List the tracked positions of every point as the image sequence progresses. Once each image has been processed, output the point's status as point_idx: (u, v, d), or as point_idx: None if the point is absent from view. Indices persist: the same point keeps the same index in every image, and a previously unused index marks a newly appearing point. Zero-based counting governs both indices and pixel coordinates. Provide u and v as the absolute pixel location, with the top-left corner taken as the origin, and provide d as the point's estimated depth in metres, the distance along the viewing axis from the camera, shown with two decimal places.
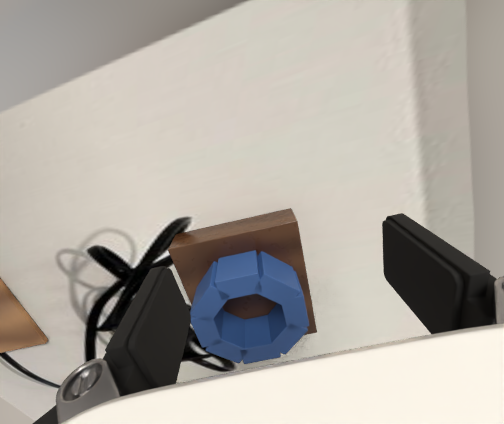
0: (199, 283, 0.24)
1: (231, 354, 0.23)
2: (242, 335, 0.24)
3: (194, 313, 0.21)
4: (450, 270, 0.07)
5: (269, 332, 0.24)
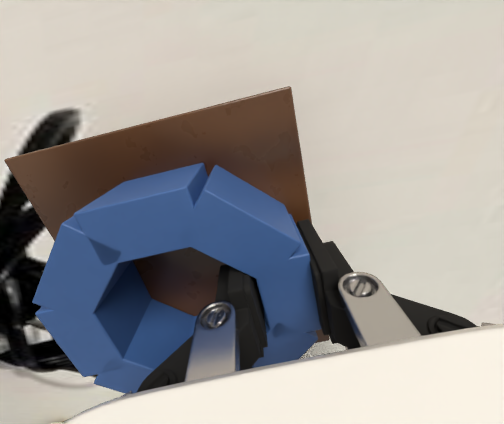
0: None
1: None
2: None
3: (42, 299, 0.09)
4: (313, 268, 0.08)
5: None
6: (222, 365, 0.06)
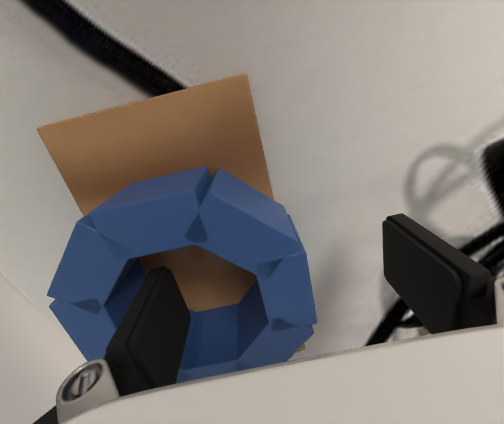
0: None
1: None
2: None
3: (56, 292, 0.09)
4: (450, 270, 0.07)
5: (236, 336, 0.12)
6: None
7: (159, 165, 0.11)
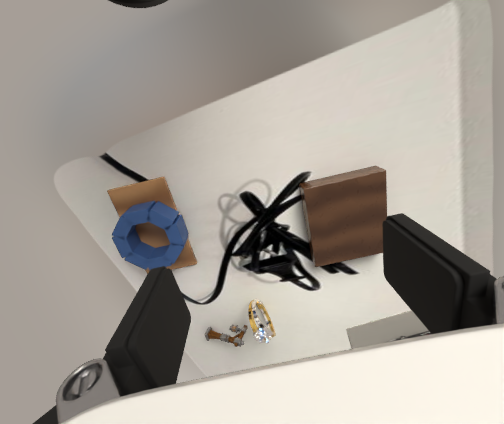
0: None
1: (140, 263, 0.39)
2: (149, 253, 0.40)
3: (114, 234, 0.37)
4: (450, 270, 0.07)
5: (165, 252, 0.40)
6: None
7: (141, 200, 0.38)
